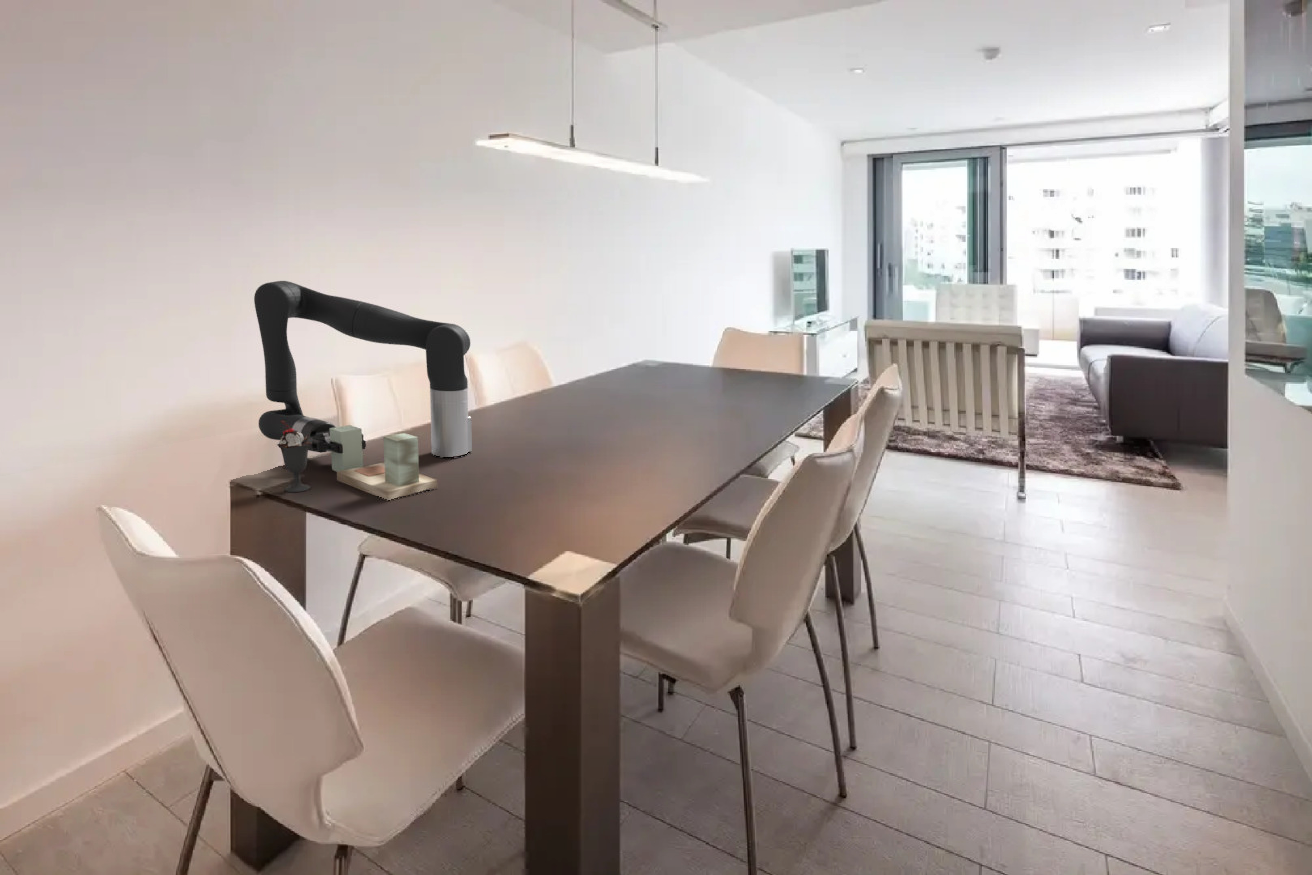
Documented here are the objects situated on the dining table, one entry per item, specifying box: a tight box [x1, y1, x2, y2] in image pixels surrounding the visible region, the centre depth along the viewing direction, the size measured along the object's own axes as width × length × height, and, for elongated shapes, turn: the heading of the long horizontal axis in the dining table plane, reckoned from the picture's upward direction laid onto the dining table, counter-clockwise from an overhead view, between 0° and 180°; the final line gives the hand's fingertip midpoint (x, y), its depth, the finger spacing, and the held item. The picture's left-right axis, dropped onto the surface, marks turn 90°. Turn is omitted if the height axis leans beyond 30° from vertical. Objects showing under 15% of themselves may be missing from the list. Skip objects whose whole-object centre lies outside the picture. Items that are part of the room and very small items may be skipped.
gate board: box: [336, 432, 438, 501], centre depth 161 cm, size 12×20×12 cm, turn 52°
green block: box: [330, 424, 364, 473], centre depth 171 cm, size 5×5×10 cm
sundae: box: [276, 421, 312, 493], centre depth 155 cm, size 7×7×15 cm
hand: (352, 447), depth 169 cm, fingers closed on green block, 5 cm apart
